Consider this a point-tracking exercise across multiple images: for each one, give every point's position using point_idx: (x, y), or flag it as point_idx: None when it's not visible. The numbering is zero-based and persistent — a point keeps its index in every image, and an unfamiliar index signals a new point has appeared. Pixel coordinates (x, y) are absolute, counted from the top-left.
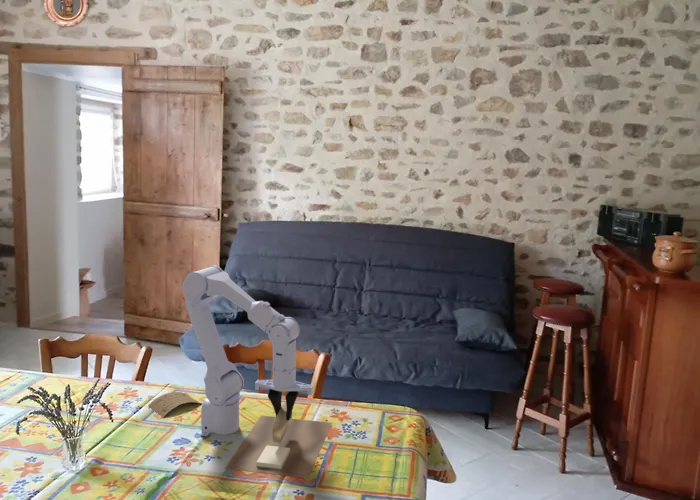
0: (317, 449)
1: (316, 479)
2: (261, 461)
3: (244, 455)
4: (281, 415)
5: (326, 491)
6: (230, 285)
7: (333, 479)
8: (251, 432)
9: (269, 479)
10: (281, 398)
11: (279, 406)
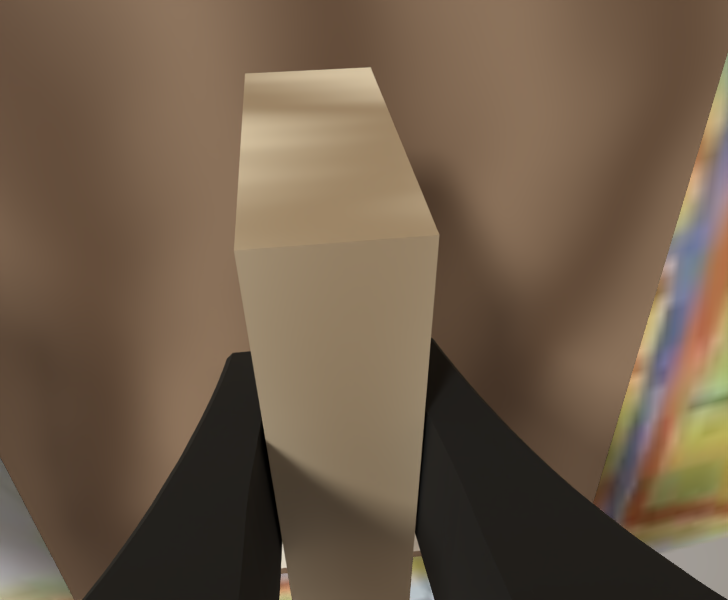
0: (642, 261)
1: (617, 485)
2: (283, 559)
3: (99, 477)
4: (360, 589)
5: (665, 538)
6: None
7: (711, 461)
8: None
9: None
10: (239, 572)
11: (265, 562)
